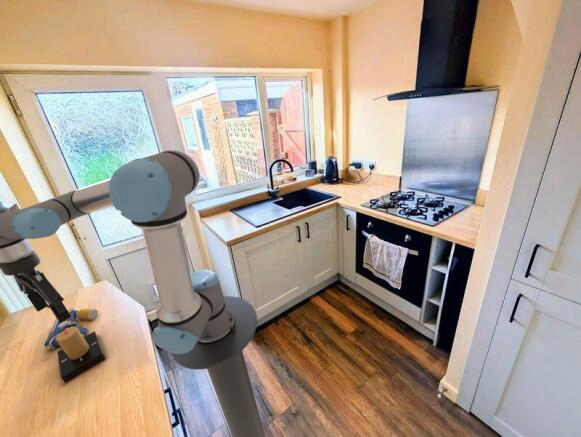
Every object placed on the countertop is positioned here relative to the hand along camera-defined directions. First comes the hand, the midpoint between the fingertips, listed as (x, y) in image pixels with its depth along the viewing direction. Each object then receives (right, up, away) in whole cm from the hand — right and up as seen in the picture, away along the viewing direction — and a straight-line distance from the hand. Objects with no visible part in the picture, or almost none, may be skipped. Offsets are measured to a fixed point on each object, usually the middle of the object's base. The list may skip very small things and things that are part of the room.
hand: (53, 313), depth 77 cm
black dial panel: (+2, -19, +9) cm, 21 cm away
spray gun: (-13, -15, +22) cm, 29 cm away
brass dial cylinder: (+1, -16, +8) cm, 18 cm away
